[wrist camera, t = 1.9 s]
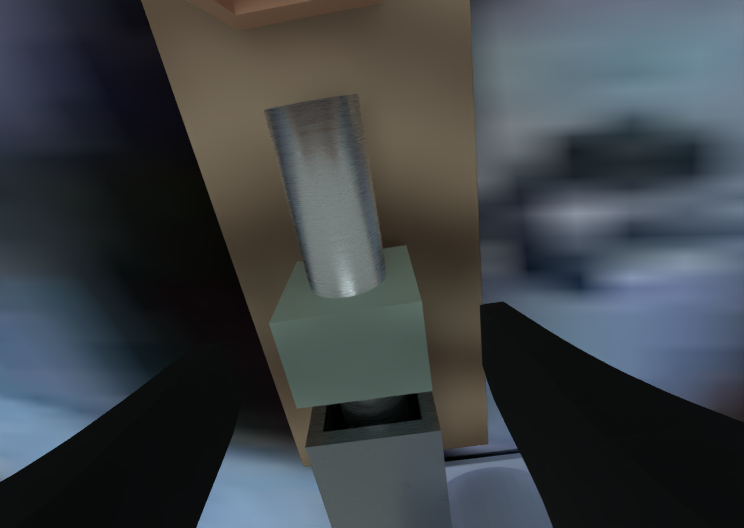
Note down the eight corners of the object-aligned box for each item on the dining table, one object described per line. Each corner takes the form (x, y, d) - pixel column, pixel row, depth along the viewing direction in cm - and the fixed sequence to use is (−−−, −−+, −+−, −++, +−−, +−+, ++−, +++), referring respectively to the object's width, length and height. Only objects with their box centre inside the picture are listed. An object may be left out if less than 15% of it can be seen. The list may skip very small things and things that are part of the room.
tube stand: (482, 428, 20) (534, 575, 14) (306, 450, 20) (280, 601, 14) (451, -197, 10) (588, -687, 4) (114, -123, 11) (-246, -449, 4)
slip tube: (434, 456, 17) (452, 551, 14) (352, 466, 17) (347, 563, 14) (385, 91, 11) (396, 83, 7) (256, 114, 11) (201, 118, 7)
